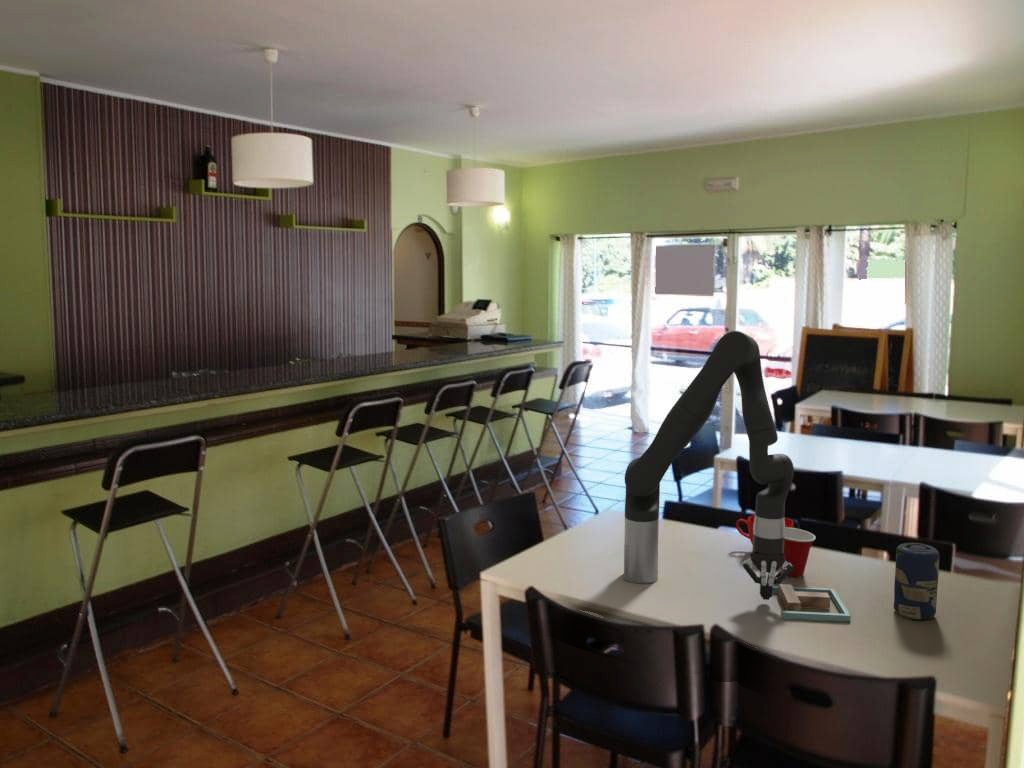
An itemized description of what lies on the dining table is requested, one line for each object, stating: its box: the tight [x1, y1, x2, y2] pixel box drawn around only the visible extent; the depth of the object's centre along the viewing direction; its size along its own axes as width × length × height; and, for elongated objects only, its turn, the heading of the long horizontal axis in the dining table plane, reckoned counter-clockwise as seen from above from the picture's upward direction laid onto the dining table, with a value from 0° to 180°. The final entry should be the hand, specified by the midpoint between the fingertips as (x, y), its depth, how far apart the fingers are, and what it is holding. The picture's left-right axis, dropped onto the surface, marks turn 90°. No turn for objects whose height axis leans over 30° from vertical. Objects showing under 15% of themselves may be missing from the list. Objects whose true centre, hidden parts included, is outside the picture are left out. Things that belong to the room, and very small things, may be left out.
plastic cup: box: [780, 527, 816, 579], centre depth 228 cm, size 11×11×12 cm
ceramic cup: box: [735, 514, 794, 546], centre depth 246 cm, size 13×17×10 cm
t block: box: [778, 583, 831, 612], centre depth 207 cm, size 11×12×3 cm
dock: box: [772, 585, 852, 622], centre depth 207 cm, size 16×17×2 cm
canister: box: [893, 542, 940, 620], centre depth 200 cm, size 10×10×18 cm
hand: (765, 598), depth 209 cm, fingers closed
